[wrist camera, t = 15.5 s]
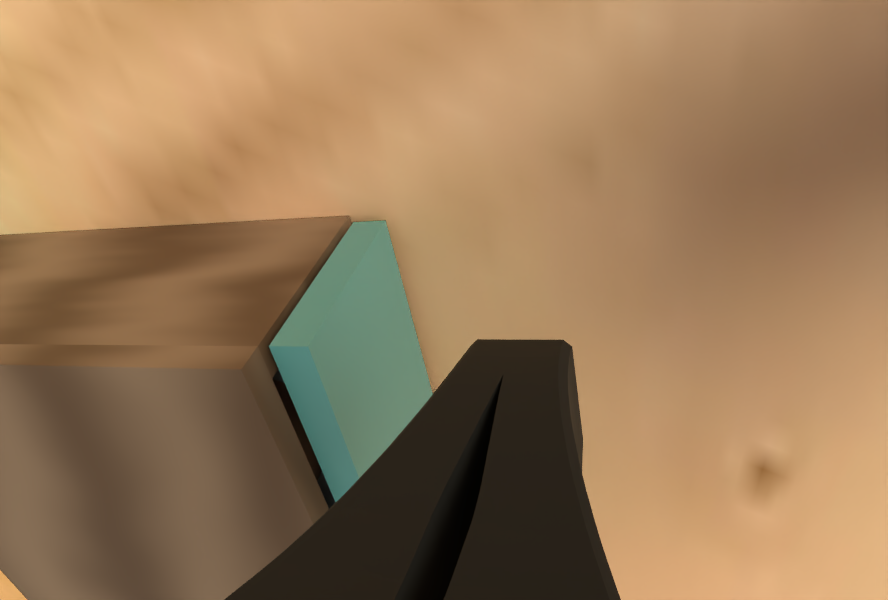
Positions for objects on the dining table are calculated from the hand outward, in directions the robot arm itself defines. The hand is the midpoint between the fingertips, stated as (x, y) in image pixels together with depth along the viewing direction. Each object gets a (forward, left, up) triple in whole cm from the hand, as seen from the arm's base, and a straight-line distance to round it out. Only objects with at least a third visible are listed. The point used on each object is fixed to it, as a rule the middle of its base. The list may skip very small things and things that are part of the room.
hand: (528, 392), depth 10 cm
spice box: (+14, +10, -9) cm, 20 cm away
